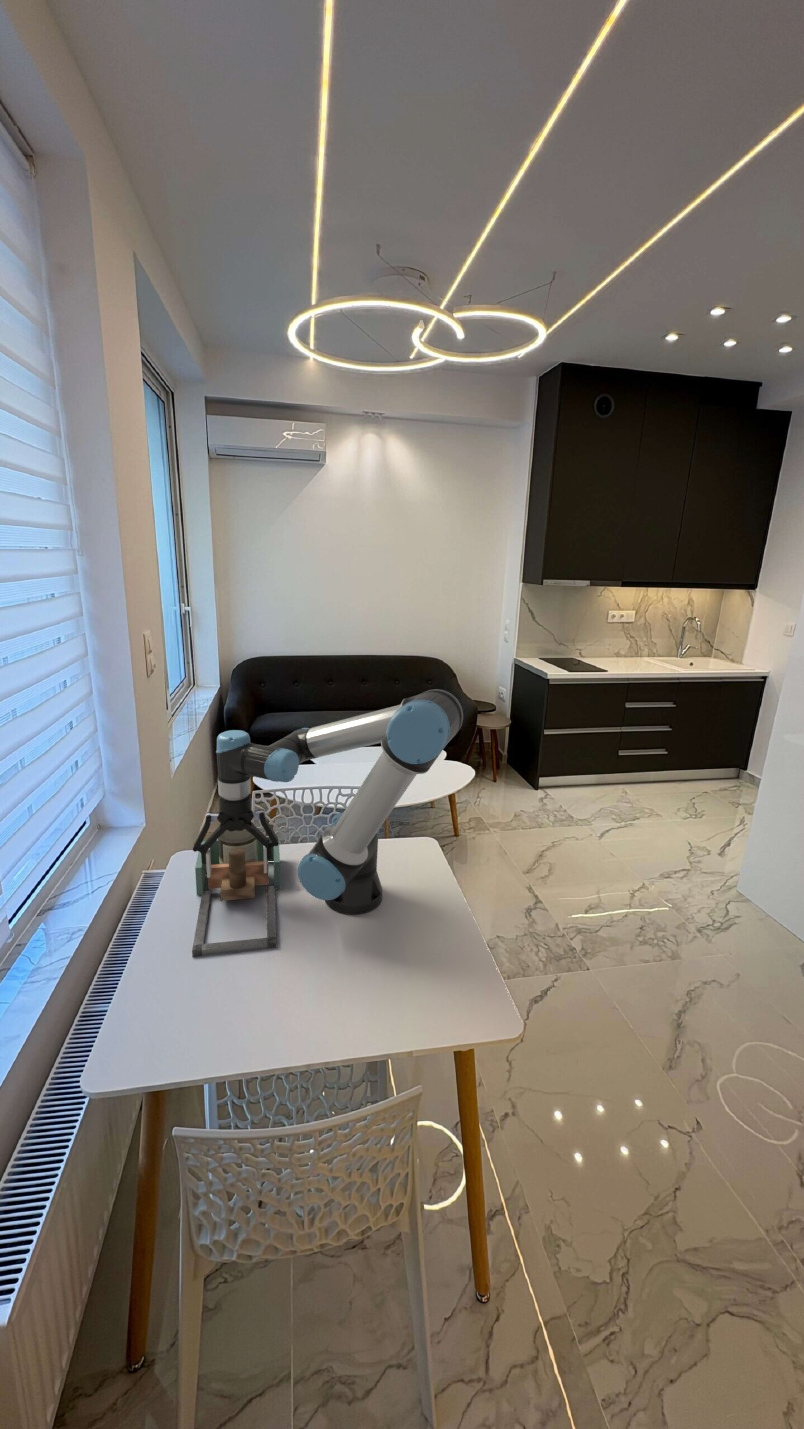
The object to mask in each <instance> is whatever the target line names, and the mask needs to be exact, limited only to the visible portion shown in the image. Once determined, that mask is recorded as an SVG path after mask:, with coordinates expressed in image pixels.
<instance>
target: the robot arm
mask: <svg viewBox="0 0 804 1429" xmlns="http://www.w3.org/2000/svg"><path fill="white" fill-rule="evenodd" d="M463 720H464V712H463V707H462V705H461V703H460V701H459V699H458V698H456V696H454V694H452V693H450V692H449V691H447V690H444V689H440V688H439V689H437V688H435V689H428V690H426V691H423V692H422V693H419V694H417V695H413V696H409V697H407V698H403V699H402V701H401V703H400V704H397V705H393V706H390V707H385V708H382V709H378V710H374V711H371V712H366V713H363V714H359V715H355V716H351V717H348V718H344V719H340V720H337V721H333V722H330V723H325V724H321V725H317V726H313V727H310V728H309V727H302V728H300V729H296V730H293V732H291V733H290V734H288V735H286V736H285V737H283V738H280V739H279V740H277V741H275V742H273V743H272V744H270V745H262V744H258V743H254V742H251V736H250V734H249V732H246V731H245V730H241V729H240V730H239V729H238V730H237V729H236V730H235V729H231V730H226V731H223V732H221V733H219V734H218V736H217V737H216V751H215V754H216V763H217V764H216V766H217V772H218V773H217V786H218V787H217V790H218V795H219V796H218V813H212V812H211V811H207V813H206V815H205V821H204V824H203V826H202V828H201V830H200V831H199V834H198V835H197V837H196V840H195V841H194V843H193V847H192V852H195V853H196V852H200V853H201V860H202V864H206V867H207V874H206V878H207V879H208V878H209V877H210V876H211V857H210V847H211V846H212V845H213V844H214V842H215V841H216V840H217V839H218V838H219V837H220V836H221V834H223V833H224V832H225V831H226V830H229V832H230V831H235V830H237V831H243V830H244V829H246V830H247V831H248V832H250V833H251V834H252V835H253V836H254V837H255V838H256V839H257V840H258V841H260V842H261V843H262V844H263V853H264V873H267V860H270V859H271V848H272V847H274V846H278V845H279V846H280V840H279V841H278V837H277V836H276V835H277V834H276V832H275V830H274V829H273V827H272V826H271V824H270V823H269V821H268V818H267V817H266V812H265V809H263V808H261V809H260V810H259V811H253V809H252V794H251V792H252V784H251V783H252V781H251V780H252V779H251V778H252V777H255V778H260V779H263V780H268V781H271V782H276V783H278V782H280V783H289V782H291V781H293V780H294V779H295V776H296V775H297V774H298V771H299V767H300V764H302V763H303V762H306V761H310V760H314V759H318V758H323V757H325V756H330V755H334V754H339V753H342V752H347V751H352V750H356V749H360V748H365V747H367V746H374V745H377V744H380V745H381V750H382V752H381V754H380V756H379V757H378V759H377V760H376V762H375V763H374V765H373V767H372V768H371V769H370V771H369V773H368V774H367V775H366V777H365V779H364V780H363V782H362V784H361V785H360V787H359V788H358V790H357V791H356V792H355V794H354V796H353V797H352V798H351V800H350V802H349V804H348V805H347V807H346V809H345V810H344V811H343V812H338V813H337V814H335V815H334V816H333V817H332V819H331V820H332V821H331V823H330V824H331V826H327V827H326V828H325V829H324V830H323V831H322V833H321V835H320V836H319V838H318V839H317V841H316V842H315V844H314V846H313V847H312V849H311V850H310V851H309V852H308V853H307V854H306V855H304V856H303V857H302V858H301V860H300V862H299V864H298V867H297V876H298V878H299V880H300V884H301V886H302V887H303V888H304V889H305V891H306V892H307V893H308V894H310V896H313V897H314V898H315V899H318V900H321V901H324V902H325V904H326V905H327V907H328V908H329V909H332V910H333V911H335V912H338V913H341V914H346V915H360V914H365V913H369V912H371V911H373V910H375V909H376V908H378V907H379V906H380V905H381V902H382V901H383V886H382V883H381V880H380V877H379V873H378V870H377V868H378V850H379V848H378V847H379V846H378V845H379V833H380V831H379V830H380V828H382V825H383V824H384V823H385V821H386V820H387V818H388V817H389V815H391V813H392V811H393V810H394V809H395V807H396V805H397V804H398V803H399V801H400V799H401V798H402V796H403V795H405V794H404V793H405V792H406V791H407V789H408V788H409V786H410V785H411V784H412V782H413V781H414V779H415V777H416V776H417V775H423V774H426V773H427V772H429V770H430V769H431V767H432V766H433V765H434V764H435V762H436V760H437V759H439V758H438V757H439V756H440V755H441V753H442V752H443V750H444V749H445V748H446V746H447V745H448V743H450V741H451V740H452V739H453V738H454V737H455V736H456V735H457V734H458V732H459V731H460V729H461V727H462V724H463ZM254 818H255V819H256V820H257V821H259V822H260V824H261V826H262V829H263V830H264V831H265V833H266V834H267V835H265V834H264V833H263V831H261V830H260V829H259V828H258V827H257V826H256V825H255V824H254V822H253V819H254ZM216 820H217V821H218V823H219V825H218V827H217V828H216V829H215V830H214V831H213V832H212V833H211V835H210V836H209V837H208V838H207V839H205V838H206V835H207V833H208V831H209V829H210V827H211V824H214V823H215V821H216ZM266 836H269V838H270V840H269V839H268V838H267V837H266ZM203 840H206V842H205V843H204V844H202V845H201V843H202V841H203Z"/></svg>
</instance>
